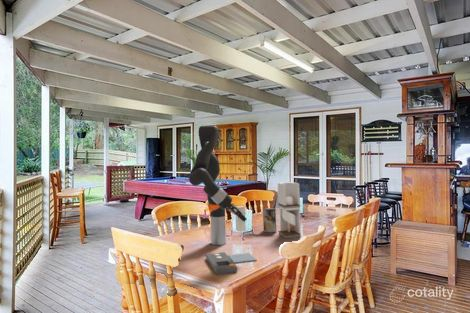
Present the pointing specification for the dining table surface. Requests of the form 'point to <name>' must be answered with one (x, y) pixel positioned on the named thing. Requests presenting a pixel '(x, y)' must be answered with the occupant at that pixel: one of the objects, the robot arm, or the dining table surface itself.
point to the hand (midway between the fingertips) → (243, 219)
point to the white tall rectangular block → (239, 223)
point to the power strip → (221, 263)
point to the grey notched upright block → (289, 209)
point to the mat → (242, 258)
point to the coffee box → (269, 219)
